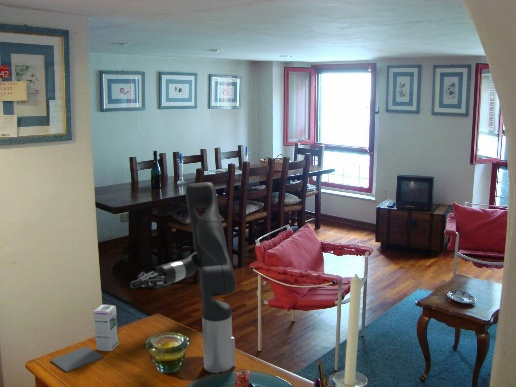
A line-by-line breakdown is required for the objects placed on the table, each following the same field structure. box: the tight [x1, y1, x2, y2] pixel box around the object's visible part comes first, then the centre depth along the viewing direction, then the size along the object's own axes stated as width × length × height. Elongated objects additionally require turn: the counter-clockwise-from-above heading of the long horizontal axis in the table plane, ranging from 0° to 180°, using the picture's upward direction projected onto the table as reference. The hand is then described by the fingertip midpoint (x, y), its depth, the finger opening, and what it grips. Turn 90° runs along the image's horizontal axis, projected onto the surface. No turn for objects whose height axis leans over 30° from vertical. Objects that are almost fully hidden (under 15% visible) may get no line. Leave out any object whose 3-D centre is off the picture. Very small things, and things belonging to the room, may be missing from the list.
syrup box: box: [92, 304, 120, 352], centre depth 182 cm, size 6×6×14 cm
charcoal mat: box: [50, 345, 104, 373], centre depth 175 cm, size 13×11×1 cm
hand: (131, 285), depth 188 cm, fingers closed
